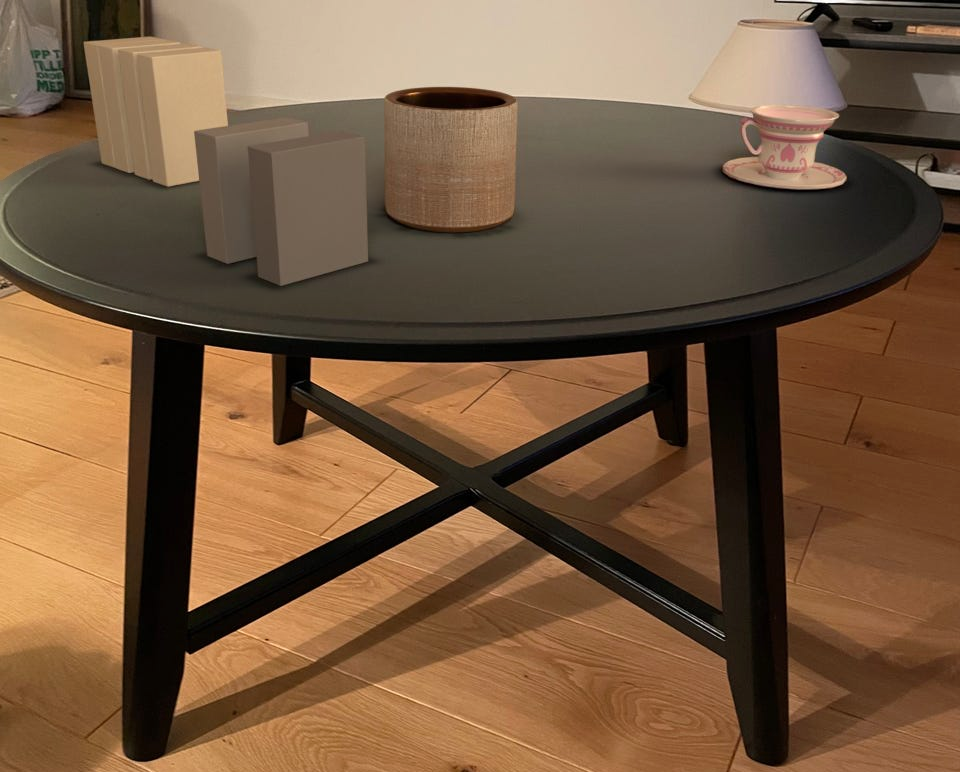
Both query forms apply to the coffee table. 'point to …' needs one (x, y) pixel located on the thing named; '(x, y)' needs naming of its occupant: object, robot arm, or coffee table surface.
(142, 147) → the cream book
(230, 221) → the grey books
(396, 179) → the planter
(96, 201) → the coffee table surface
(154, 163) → the cream books
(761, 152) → the teacup
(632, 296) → the coffee table surface
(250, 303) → the coffee table surface
